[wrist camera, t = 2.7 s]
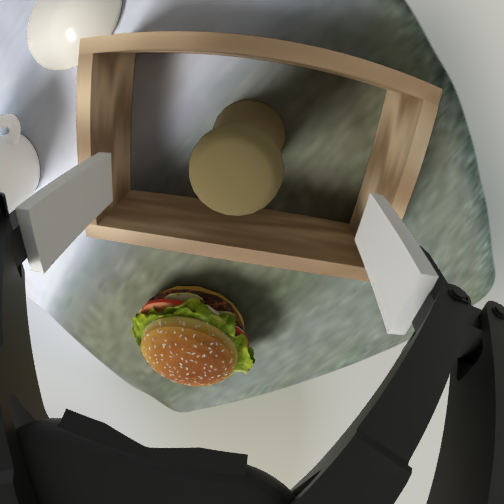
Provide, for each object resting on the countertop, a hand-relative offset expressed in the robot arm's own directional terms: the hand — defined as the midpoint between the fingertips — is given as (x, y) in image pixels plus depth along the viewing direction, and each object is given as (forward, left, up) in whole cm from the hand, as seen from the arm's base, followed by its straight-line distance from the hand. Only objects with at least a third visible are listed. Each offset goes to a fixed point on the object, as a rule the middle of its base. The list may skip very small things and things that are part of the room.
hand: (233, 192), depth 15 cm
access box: (0, 0, -12) cm, 12 cm away
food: (+23, -3, -12) cm, 26 cm away
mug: (+3, -25, -12) cm, 28 cm away
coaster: (-11, -18, -12) cm, 24 cm away
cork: (0, 0, -12) cm, 12 cm away
